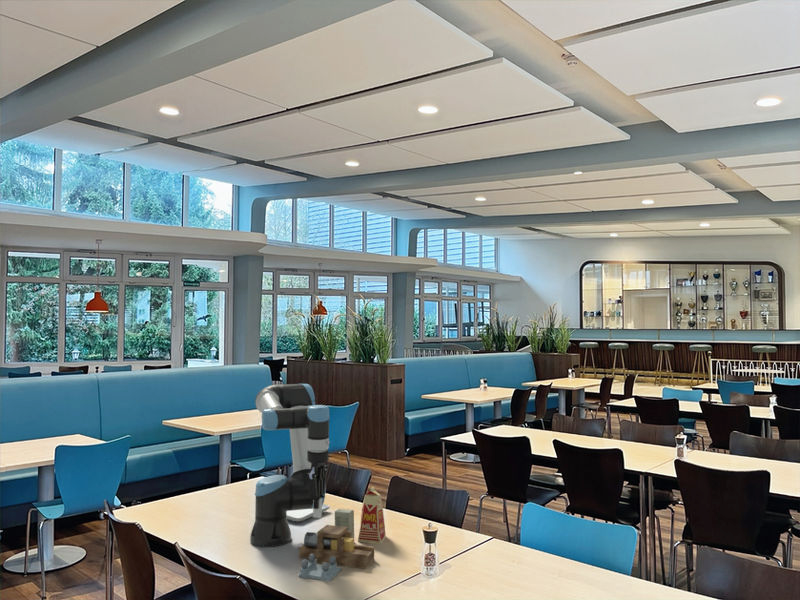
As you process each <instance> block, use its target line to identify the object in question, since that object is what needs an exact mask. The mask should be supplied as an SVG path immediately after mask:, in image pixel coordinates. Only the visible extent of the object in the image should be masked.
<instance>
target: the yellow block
mask: <svg viewBox="0 0 800 600" xmlns="http://www.w3.org/2000/svg"><path fill="white" fill-rule="evenodd" d="M342 538H344V551H348V552H352V551H353V550H354V544H355V537H354V538H349V537H342ZM331 550H337V538H333V539H331Z"/></svg>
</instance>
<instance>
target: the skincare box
mask: <svg viewBox="0 0 800 600" xmlns="http://www.w3.org/2000/svg"><path fill="white" fill-rule="evenodd" d="M354 512H355V511H354V509H349V508H347V509H345V508H338V509H337V510H335V511H334V526H342V527H348V531H352V538H354V539H355V513H354Z"/></svg>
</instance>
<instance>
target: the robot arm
mask: <svg viewBox="0 0 800 600" xmlns="http://www.w3.org/2000/svg"><path fill="white" fill-rule="evenodd" d="M313 389H314V388H313V387H312V386H311V384H308V383H289V384H285V383H284V384H283V383H282V384H278V383H277V384H276V383H275V384H271V385H267V386H266V387H264V388H262V389H260V391H258V392H257V394H256V396H255V398H254V399H255V400H254V403H255V404H254V405H255V407H256V409H257V410H258V411H259V413H261V427H262V429H263V430H264V431H279V430H280V431H281V430H289V438H290V447H291V455H292V459H291V460H292V466H293V472H292V473H291V474H290V476H289V477H290V478H288V477H287V476H286V475H285V474H273V475H269V476H265V477H262V478H261V479H259V480H258V481H256V484H255V493H254V496H255V505H254V506H255V511H254V513H255V517H254V523H253V525H252V529H251V532H250V537H249V538H250V543H251V544H252V545H254V546H256V547H262V548H263V547H266V548H267V547H270V548H271V547H278V546H283V545H285V544H287V543H289V542H290V541H291V540H292V533H291V528H290V526H289V521H288V520H287V517H286V515H287V511H291V510H303V509H313V517H312V518H319V519H321V518H322V516H323V513H322V505H323V504H324V503H325V498H326V491H327V484H326V483H327V475H328V474H327V473H328V470H329V466H328V465H326V462H328V461H329V459H330V458H329V457H330V452H329V450H328V449H330V448H329V447H330V445H329V444H331V442H330V418H331V416H330V408H329V406H328V405H324V404H316V397H315V392H314V390H313Z"/></svg>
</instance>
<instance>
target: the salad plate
mask: <svg viewBox="0 0 800 600" xmlns="http://www.w3.org/2000/svg"><path fill="white" fill-rule="evenodd" d="M330 508H331V505H330V504H324V503H323V505H322V514H323V513H324V512H326V511H328V510H330ZM286 517H287V519H288V520H287V521H290V520H292V522H295V521H296V522H295V523H297V522H303V521H306V520H307V519H309V518H310V517H311V518H314V517H313V509H303V510H291V511H287V515H286Z"/></svg>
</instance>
